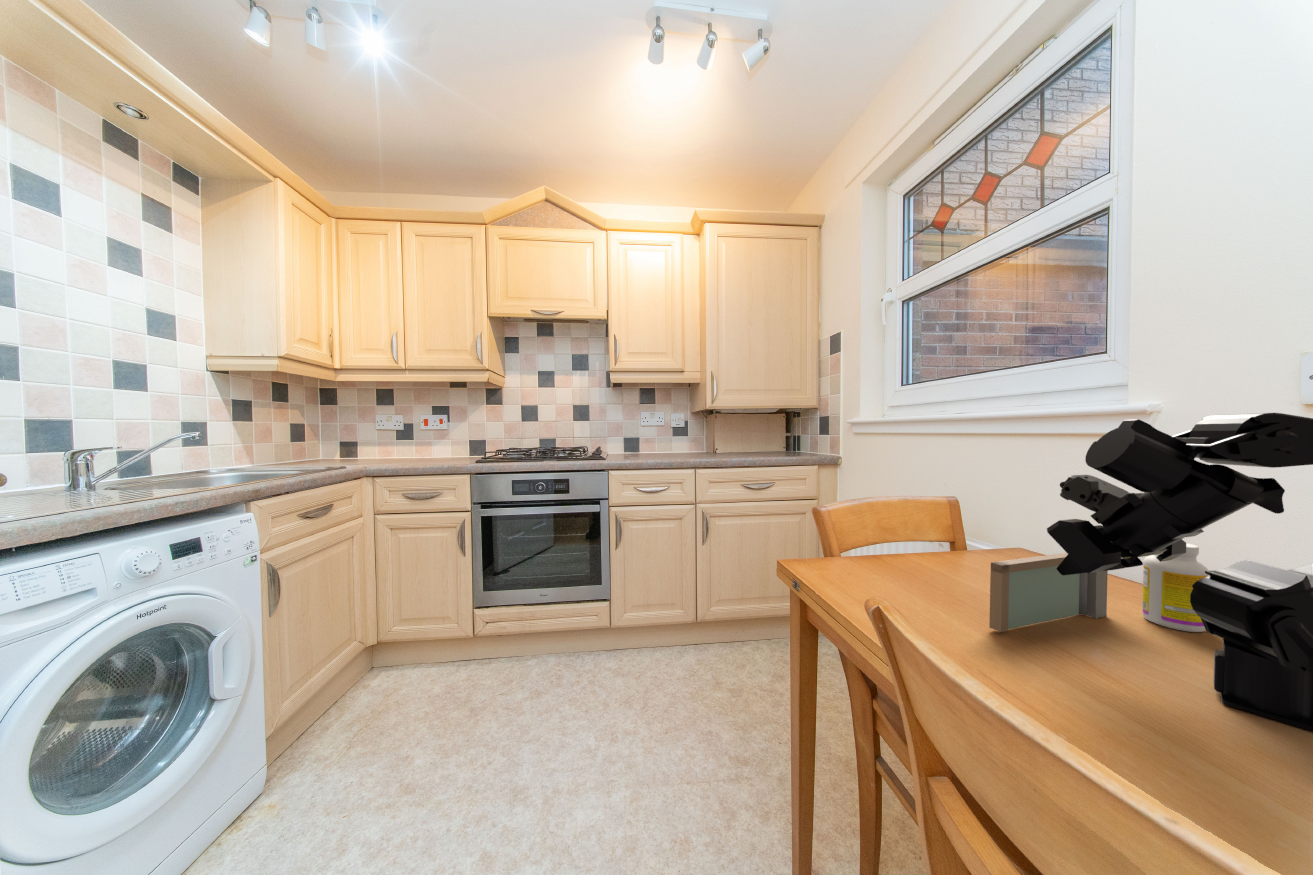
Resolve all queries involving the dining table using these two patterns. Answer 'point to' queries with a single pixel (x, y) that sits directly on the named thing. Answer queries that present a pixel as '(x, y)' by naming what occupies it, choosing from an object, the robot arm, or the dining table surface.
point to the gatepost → (1097, 594)
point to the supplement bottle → (1172, 590)
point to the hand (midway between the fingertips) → (1060, 571)
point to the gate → (1034, 592)
